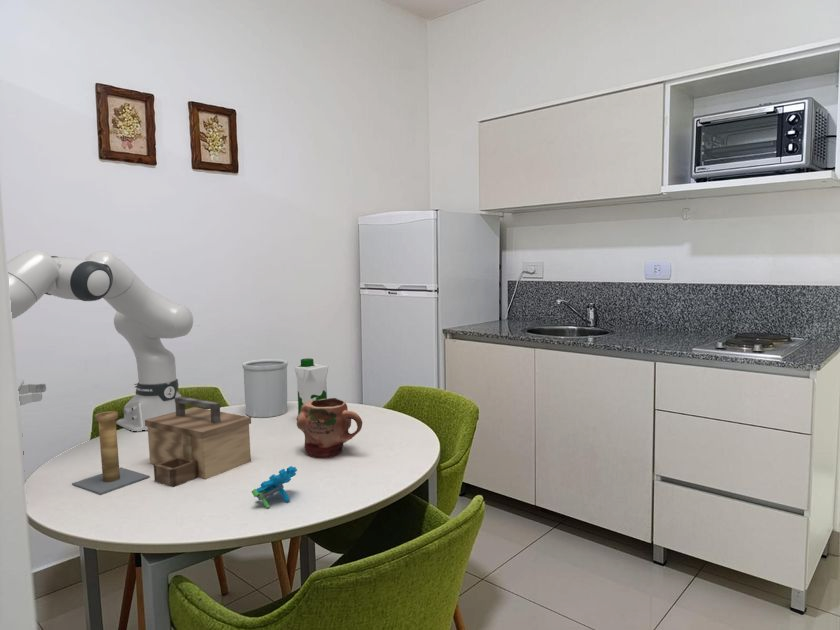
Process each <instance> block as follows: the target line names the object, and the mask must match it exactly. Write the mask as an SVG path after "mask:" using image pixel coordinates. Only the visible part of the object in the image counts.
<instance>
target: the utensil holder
mask: <svg viewBox="0 0 840 630" xmlns="http://www.w3.org/2000/svg"><path fill="white" fill-rule="evenodd" d="M242 369H243V385H244V387H243V389H244V404H245V414H246V416H247V417H251V418H259V419H260V418H261V419H262V418H273V417H279V416H282V415H284V414H285V413H287V412H288V361H287V360H286V359H280V358H278V359H277V358H262V359H252V360H247V361H244V362H242Z"/></svg>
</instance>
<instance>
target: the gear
mask: <svg viewBox="0 0 840 630" xmlns="http://www.w3.org/2000/svg"><path fill="white" fill-rule="evenodd" d="M297 471H298V469H297V467H296V466H292V465H291V466H288V467H287V468H286V469H285V468H282V469H280V470H279V471H278V473H279V474H277V475H276V474H272V475H270V476H269V477H268V480H264V481H262V482H261V483H260V486H259V487H258V488H254V489H252V490H251V493H252V495H253V497H254V498H257V500H258V501H262V503H263V505H264V506H265V508H266V509H270V507H271V506H270V504H269V503H268V501H267V500H266V498H268V497H270V496H272V495H273V494H275V493H276V494H277V493H278V492H279V494H280V495H281V496H282V498H283V500H284V502H285V503H288V502H289V501H291V498H290V496H288V494H287V492H286V490H285V489H284V484H287V483H289V482H291V480H292V477H295V476H296V475H297Z"/></svg>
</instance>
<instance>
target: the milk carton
mask: <svg viewBox="0 0 840 630" xmlns="http://www.w3.org/2000/svg"><path fill="white" fill-rule="evenodd" d="M314 362H315V361H314V359H313V358H309V357H308V358H302V359H300V365H298V366H295V367H294V371H295V378H296V385H297V408H298V410H297V411H298V412H297V416H298V415H299V414H300V410H301V406H302V405H303V404H304V403H306V402H308V401H311V400H321V399H328V392H327V391H328V390H327V378H328V377H327V375H328V371H329V366H328V365H324V364H320V363H314Z"/></svg>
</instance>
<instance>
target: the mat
mask: <svg viewBox="0 0 840 630" xmlns="http://www.w3.org/2000/svg"><path fill="white" fill-rule="evenodd" d="M119 472H120V479H119V480H117V481H113V482H103V475H102V473H100V474H99V473H98V474H96V475H93V476H91V477H87V478H83V479H81V480H78V481H75V482H72V483H71V485H72V486H75V487H76V488H80V489H83V490H86V491H88V492H92V493H95V494H96V495H97V494H98V495H100V496H102V495H104V494H107V493H111V492H113V491H115V490H118V489H121V488H124V487H126V486H131V485H132V484H136V483H138V482H141V481H143V480H145V479H146V480H147V479H149V478H150V475H148V474H144V473H141V472H138V471H134V470H132V469H127V468H124V467H119Z"/></svg>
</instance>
